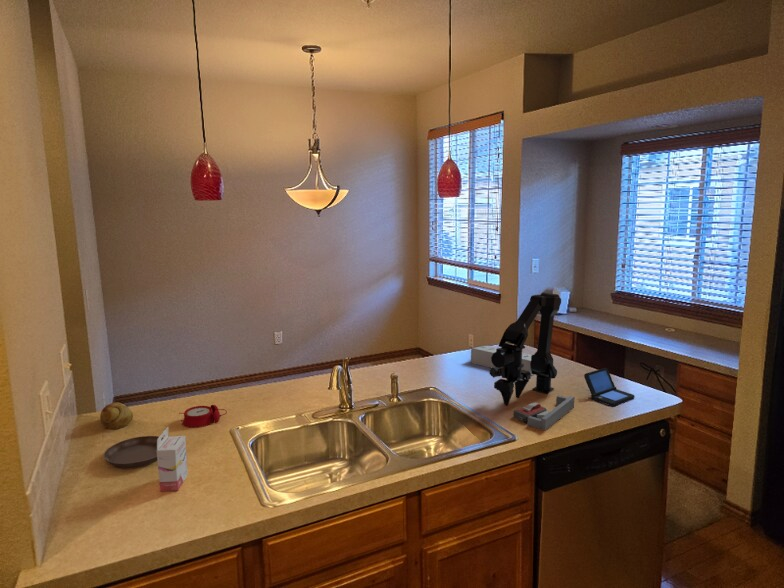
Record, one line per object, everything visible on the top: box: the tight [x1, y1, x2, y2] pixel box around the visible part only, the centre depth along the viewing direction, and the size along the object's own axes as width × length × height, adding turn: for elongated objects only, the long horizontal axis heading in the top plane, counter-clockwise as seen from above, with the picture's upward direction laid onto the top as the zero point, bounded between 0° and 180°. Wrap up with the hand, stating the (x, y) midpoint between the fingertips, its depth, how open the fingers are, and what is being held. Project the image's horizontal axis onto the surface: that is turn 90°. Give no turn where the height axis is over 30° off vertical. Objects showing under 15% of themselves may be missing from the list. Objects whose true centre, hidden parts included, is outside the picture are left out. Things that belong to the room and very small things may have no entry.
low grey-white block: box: [470, 345, 533, 376], centre depth 235 cm, size 30×14×8 cm, turn 50°
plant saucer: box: [103, 435, 164, 470], centre depth 152 cm, size 18×18×3 cm
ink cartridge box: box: [156, 426, 189, 492], centre depth 137 cm, size 9×5×15 cm, turn 5°
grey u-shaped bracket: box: [526, 394, 576, 432], centre depth 181 cm, size 26×6×4 cm, turn 140°
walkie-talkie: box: [512, 402, 550, 424], centre depth 182 cm, size 9×4×20 cm
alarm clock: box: [178, 404, 228, 429], centre depth 177 cm, size 10×6×15 cm
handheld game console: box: [583, 367, 635, 407], centre depth 198 cm, size 16×13×9 cm
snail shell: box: [99, 401, 134, 430], centre depth 174 cm, size 13×10×8 cm
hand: (511, 401), depth 191 cm, fingers open, 9 cm apart
